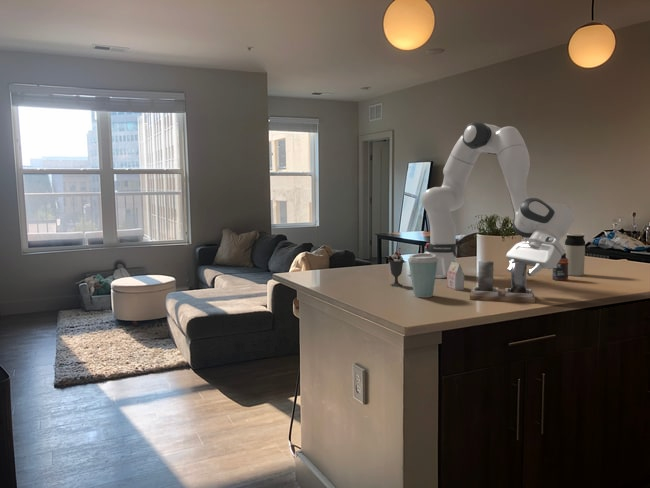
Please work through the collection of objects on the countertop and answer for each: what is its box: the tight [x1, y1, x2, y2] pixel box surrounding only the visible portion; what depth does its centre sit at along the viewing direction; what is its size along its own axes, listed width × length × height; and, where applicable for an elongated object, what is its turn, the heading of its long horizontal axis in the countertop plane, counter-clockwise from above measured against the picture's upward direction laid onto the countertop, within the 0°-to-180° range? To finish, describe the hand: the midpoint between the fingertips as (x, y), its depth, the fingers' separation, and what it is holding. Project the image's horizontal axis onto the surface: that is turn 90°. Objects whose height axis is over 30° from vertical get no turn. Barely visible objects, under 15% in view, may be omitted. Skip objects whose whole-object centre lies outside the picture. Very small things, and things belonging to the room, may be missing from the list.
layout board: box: [469, 260, 536, 304], centre depth 183 cm, size 21×12×12 cm, turn 71°
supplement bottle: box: [552, 253, 569, 282], centre depth 217 cm, size 6×6×11 cm
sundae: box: [387, 247, 405, 287], centre depth 209 cm, size 7×7×15 cm
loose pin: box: [510, 262, 528, 293], centre depth 181 cm, size 5×5×11 cm
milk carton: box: [446, 262, 465, 291], centre depth 202 cm, size 4×7×10 cm, turn 14°
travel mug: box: [564, 232, 586, 277], centre depth 229 cm, size 8×8×18 cm
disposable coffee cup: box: [407, 252, 438, 298], centre depth 188 cm, size 11×11×15 cm
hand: (519, 273), depth 181 cm, fingers open, 8 cm apart
